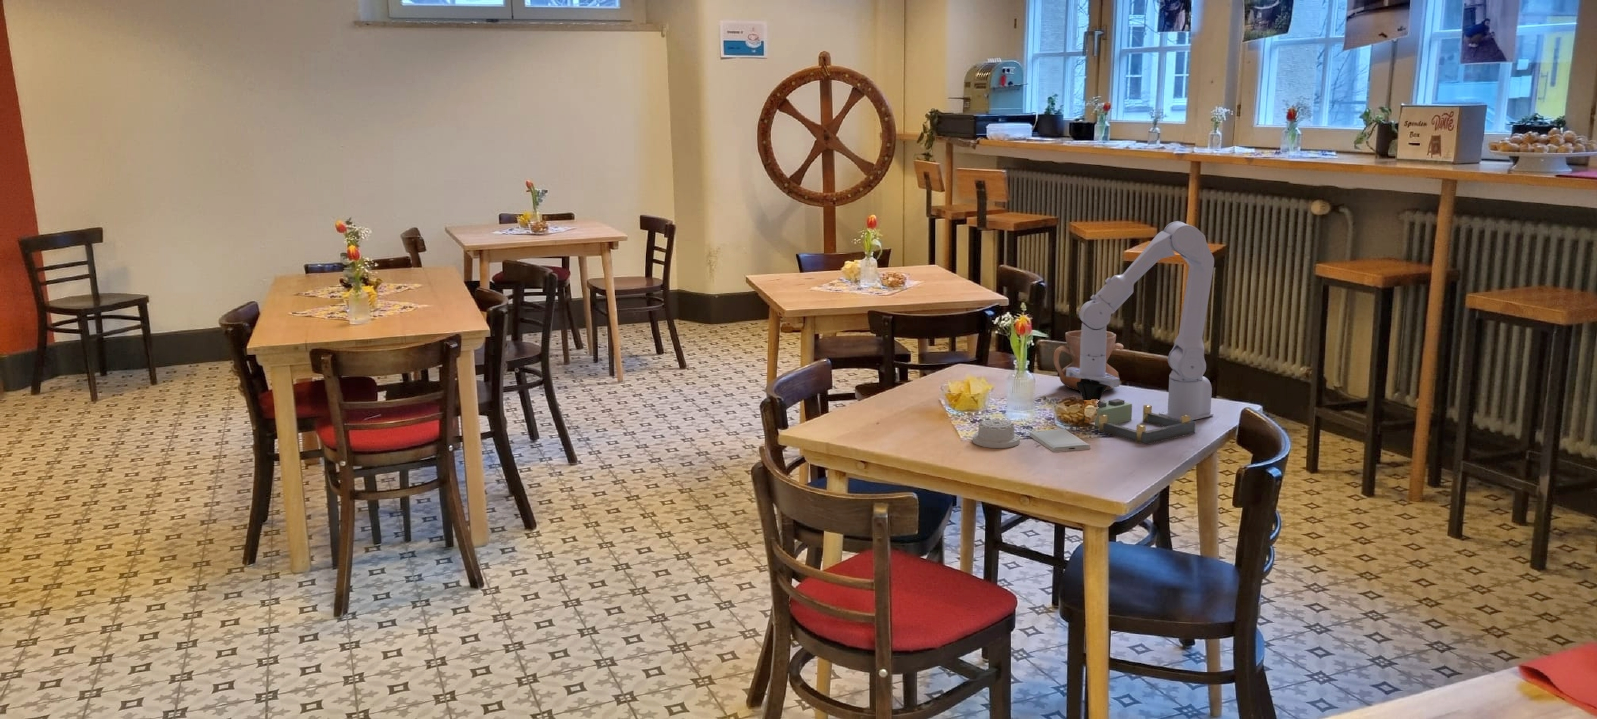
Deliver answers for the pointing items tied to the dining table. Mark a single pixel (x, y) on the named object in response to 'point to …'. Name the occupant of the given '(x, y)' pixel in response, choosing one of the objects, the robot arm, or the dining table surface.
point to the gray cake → (996, 434)
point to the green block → (1114, 411)
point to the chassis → (1169, 430)
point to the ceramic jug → (1074, 350)
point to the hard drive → (1059, 440)
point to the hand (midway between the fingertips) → (1091, 412)
